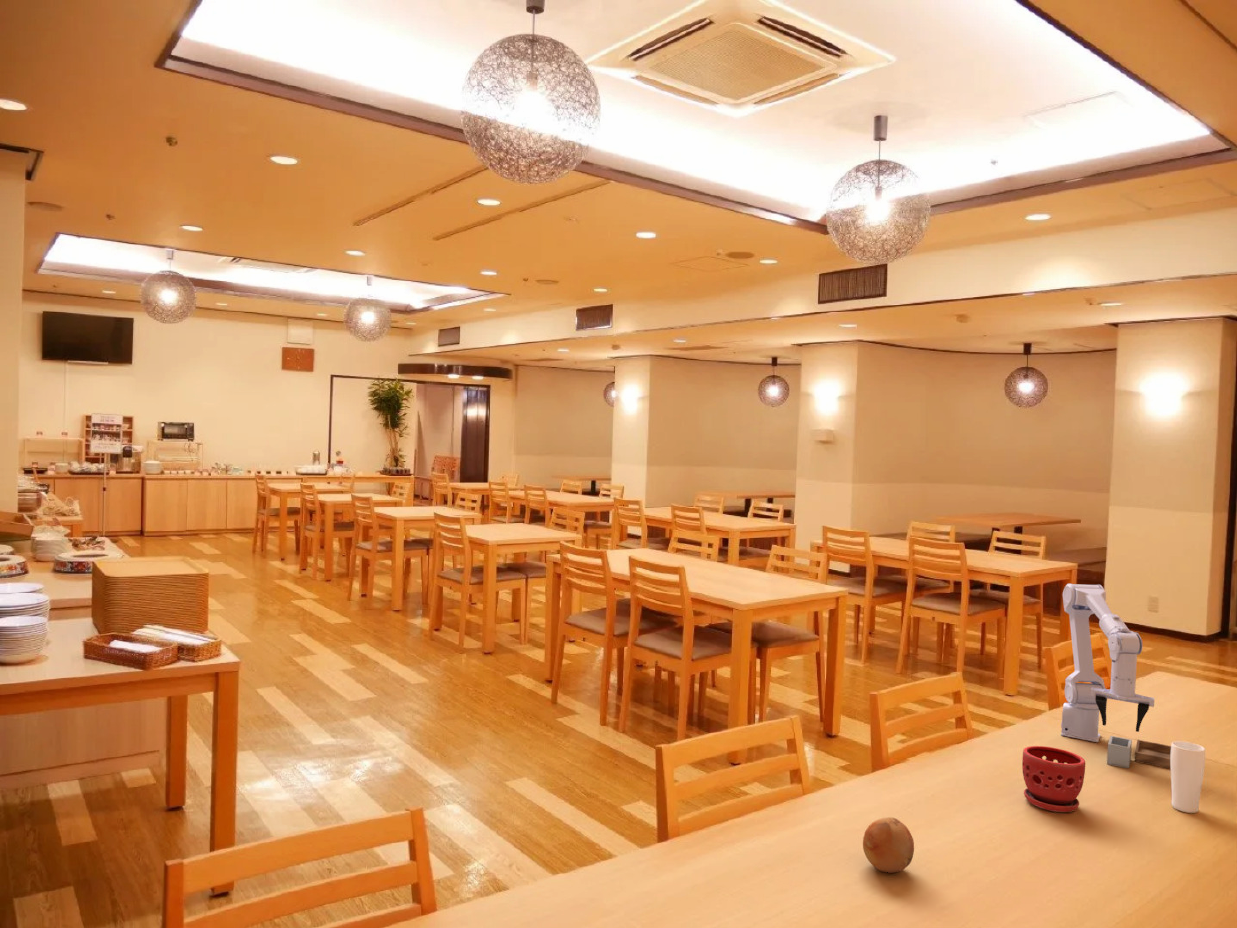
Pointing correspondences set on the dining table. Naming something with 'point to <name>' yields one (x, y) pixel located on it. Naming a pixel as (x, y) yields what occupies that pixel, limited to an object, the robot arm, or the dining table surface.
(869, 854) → the onion
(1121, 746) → the small crate
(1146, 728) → the dining table surface
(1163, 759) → the walnut crate
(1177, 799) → the white cup
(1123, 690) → the robot arm
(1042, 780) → the plant pot
